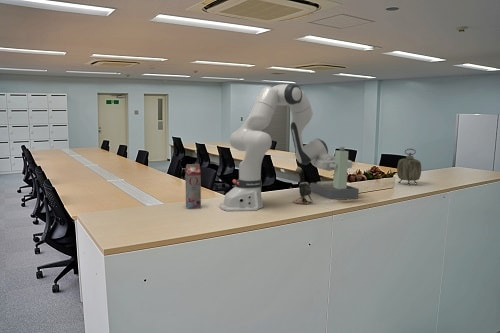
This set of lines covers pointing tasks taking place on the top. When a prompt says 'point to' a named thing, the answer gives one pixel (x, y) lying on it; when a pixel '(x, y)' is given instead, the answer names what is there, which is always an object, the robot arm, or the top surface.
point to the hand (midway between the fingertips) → (341, 165)
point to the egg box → (327, 185)
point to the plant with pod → (303, 190)
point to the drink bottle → (341, 169)
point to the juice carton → (193, 186)
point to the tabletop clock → (409, 168)
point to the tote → (335, 192)
